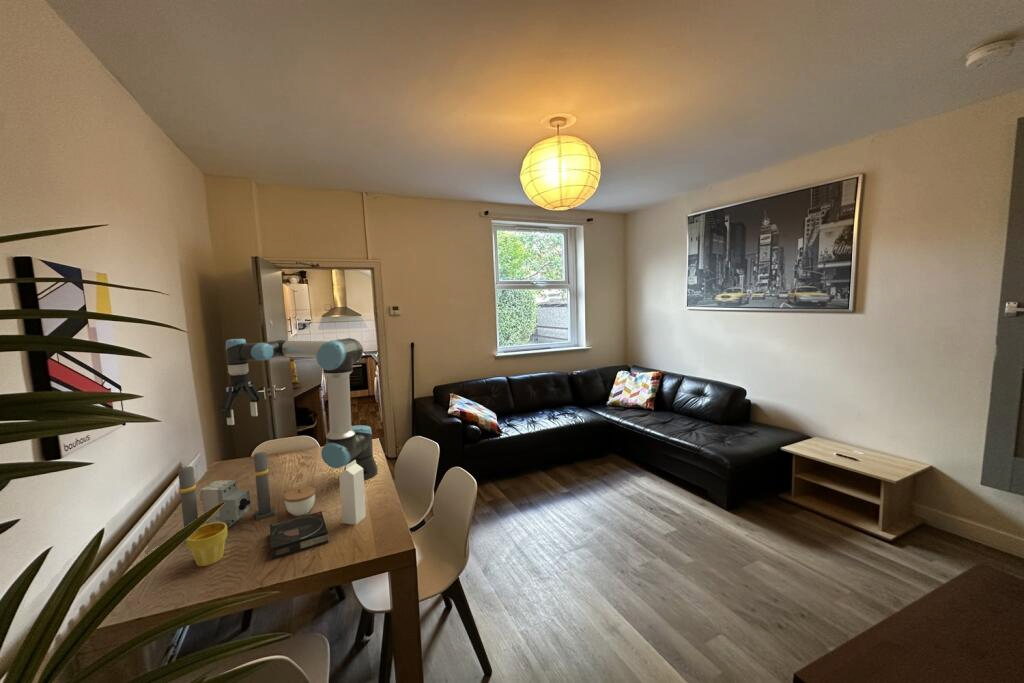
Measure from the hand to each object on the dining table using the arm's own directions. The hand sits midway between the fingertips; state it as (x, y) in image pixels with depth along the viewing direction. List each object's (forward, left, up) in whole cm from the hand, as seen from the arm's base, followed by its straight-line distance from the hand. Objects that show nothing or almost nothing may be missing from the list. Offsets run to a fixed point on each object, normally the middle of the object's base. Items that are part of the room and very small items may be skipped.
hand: (243, 420), depth 182 cm
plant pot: (-36, +52, -29) cm, 69 cm away
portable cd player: (-56, +37, -29) cm, 73 cm away
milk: (-68, +23, -29) cm, 77 cm away
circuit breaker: (-24, +33, -29) cm, 50 cm away
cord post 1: (-16, +41, -29) cm, 52 cm away
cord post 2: (-31, +25, -29) cm, 49 cm away
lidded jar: (-44, +21, -29) cm, 56 cm away
